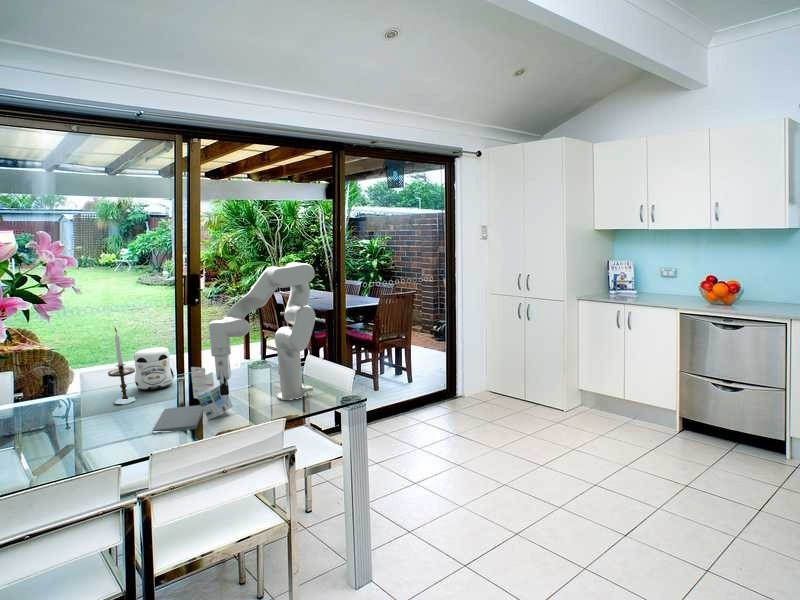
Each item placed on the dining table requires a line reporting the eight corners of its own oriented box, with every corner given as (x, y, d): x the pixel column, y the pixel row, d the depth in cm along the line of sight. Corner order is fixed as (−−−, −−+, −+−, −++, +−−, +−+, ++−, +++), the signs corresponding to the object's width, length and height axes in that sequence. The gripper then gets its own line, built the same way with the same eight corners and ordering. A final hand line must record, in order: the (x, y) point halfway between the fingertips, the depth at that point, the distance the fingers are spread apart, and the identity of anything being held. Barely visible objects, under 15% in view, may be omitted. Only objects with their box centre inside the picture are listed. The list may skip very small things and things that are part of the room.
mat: (204, 407, 242) (204, 404, 242) (196, 428, 219) (196, 425, 218) (165, 412, 239) (164, 408, 239) (152, 433, 216) (152, 430, 215)
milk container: (151, 394, 263) (146, 357, 260) (128, 390, 272) (123, 353, 269) (182, 384, 278) (178, 348, 275) (159, 380, 287) (155, 345, 284)
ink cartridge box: (215, 396, 257) (212, 365, 254) (208, 400, 252) (205, 368, 250) (200, 394, 260) (197, 364, 258) (193, 398, 255) (189, 367, 253)
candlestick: (121, 407, 248) (111, 329, 242) (106, 403, 253) (96, 327, 247) (143, 399, 257) (134, 324, 251) (128, 396, 262) (119, 322, 257)
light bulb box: (220, 415, 226) (209, 390, 225) (207, 420, 227) (196, 396, 226) (233, 406, 236) (223, 382, 235) (220, 410, 238) (209, 387, 237)
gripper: (229, 354, 221) (233, 399, 224) (232, 346, 236) (235, 388, 239) (209, 356, 220) (213, 401, 223) (213, 347, 234) (217, 390, 237)
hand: (224, 394), depth 231 cm, fingers closed
